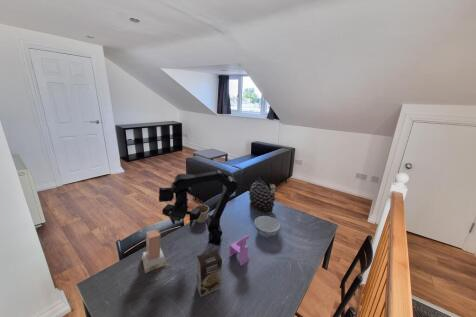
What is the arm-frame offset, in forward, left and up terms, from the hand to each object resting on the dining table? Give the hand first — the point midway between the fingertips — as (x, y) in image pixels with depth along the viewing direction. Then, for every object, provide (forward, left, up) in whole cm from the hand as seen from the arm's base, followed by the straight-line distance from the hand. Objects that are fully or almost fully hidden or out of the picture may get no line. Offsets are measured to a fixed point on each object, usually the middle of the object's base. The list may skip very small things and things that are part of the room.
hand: (182, 225), depth 105 cm
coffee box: (-21, +20, -13) cm, 32 cm away
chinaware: (-44, -21, -13) cm, 51 cm away
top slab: (+9, +13, -11) cm, 19 cm away
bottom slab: (+9, +14, -14) cm, 21 cm away
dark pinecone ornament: (-39, -47, -13) cm, 62 cm away
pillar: (+9, +14, -8) cm, 18 cm away
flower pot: (-2, -24, -13) cm, 28 cm away
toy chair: (-31, +1, -13) cm, 34 cm away
